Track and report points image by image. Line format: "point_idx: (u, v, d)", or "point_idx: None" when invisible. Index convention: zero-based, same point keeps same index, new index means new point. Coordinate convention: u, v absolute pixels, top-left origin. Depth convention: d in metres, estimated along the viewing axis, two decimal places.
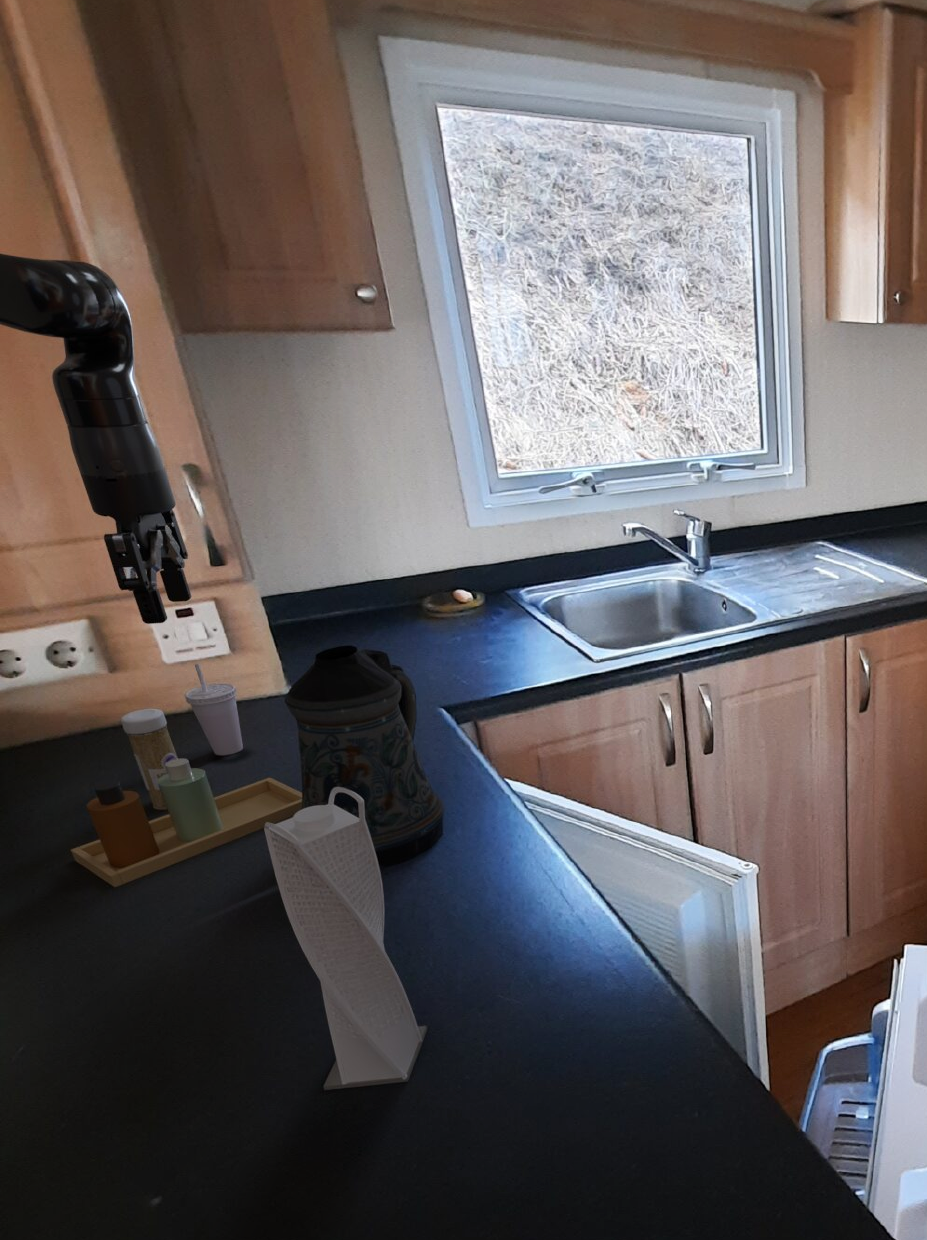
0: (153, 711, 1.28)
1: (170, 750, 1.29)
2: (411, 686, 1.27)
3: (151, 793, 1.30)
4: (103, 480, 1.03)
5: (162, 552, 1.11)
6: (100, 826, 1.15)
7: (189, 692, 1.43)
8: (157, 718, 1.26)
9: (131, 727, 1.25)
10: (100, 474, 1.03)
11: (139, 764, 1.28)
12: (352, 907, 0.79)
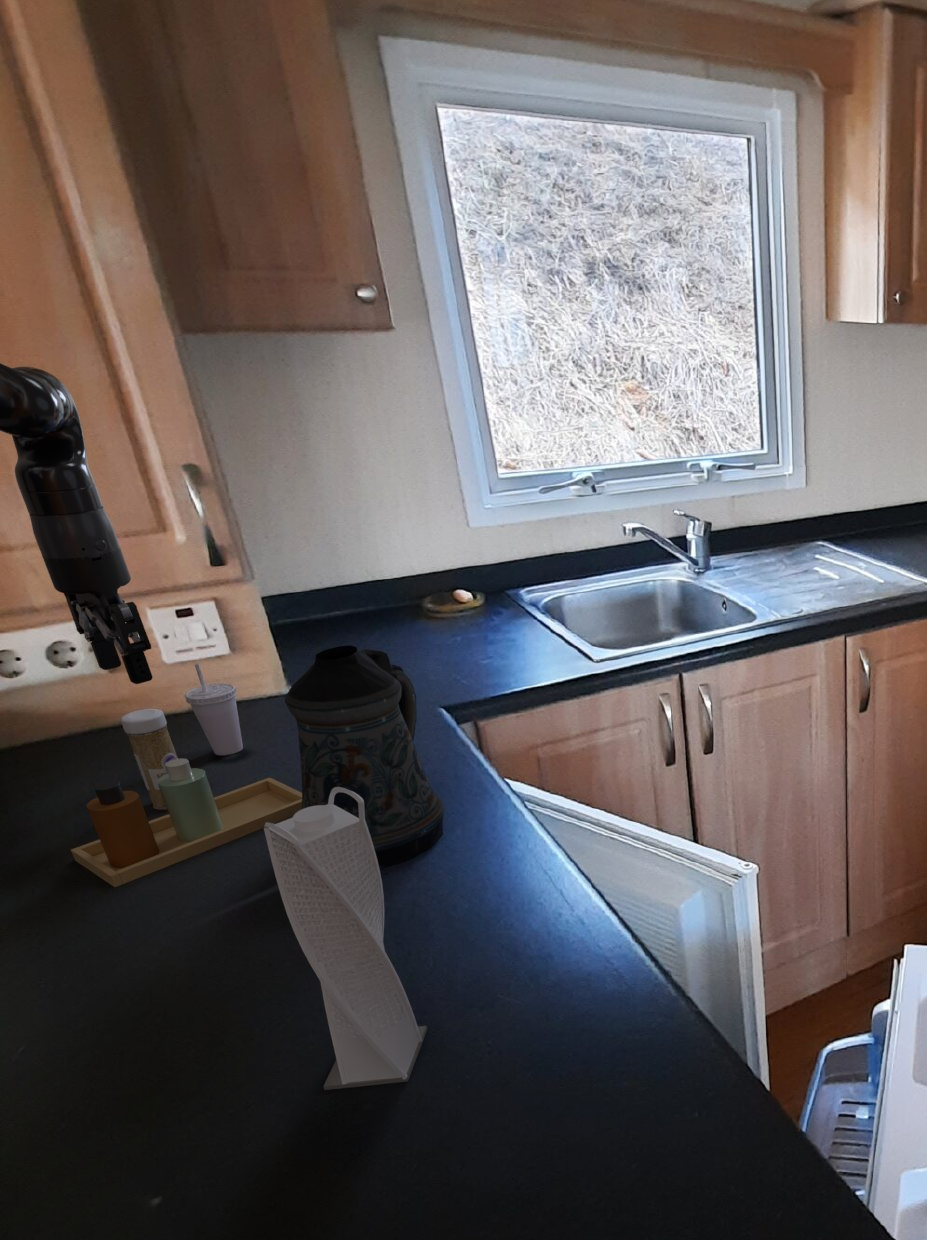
0: (153, 711, 1.28)
1: (170, 750, 1.29)
2: (411, 686, 1.27)
3: (151, 793, 1.30)
4: (89, 560, 1.15)
5: None
6: (100, 826, 1.15)
7: (189, 692, 1.43)
8: (157, 718, 1.26)
9: (131, 727, 1.25)
10: (86, 555, 1.15)
11: (139, 764, 1.28)
12: (352, 907, 0.79)
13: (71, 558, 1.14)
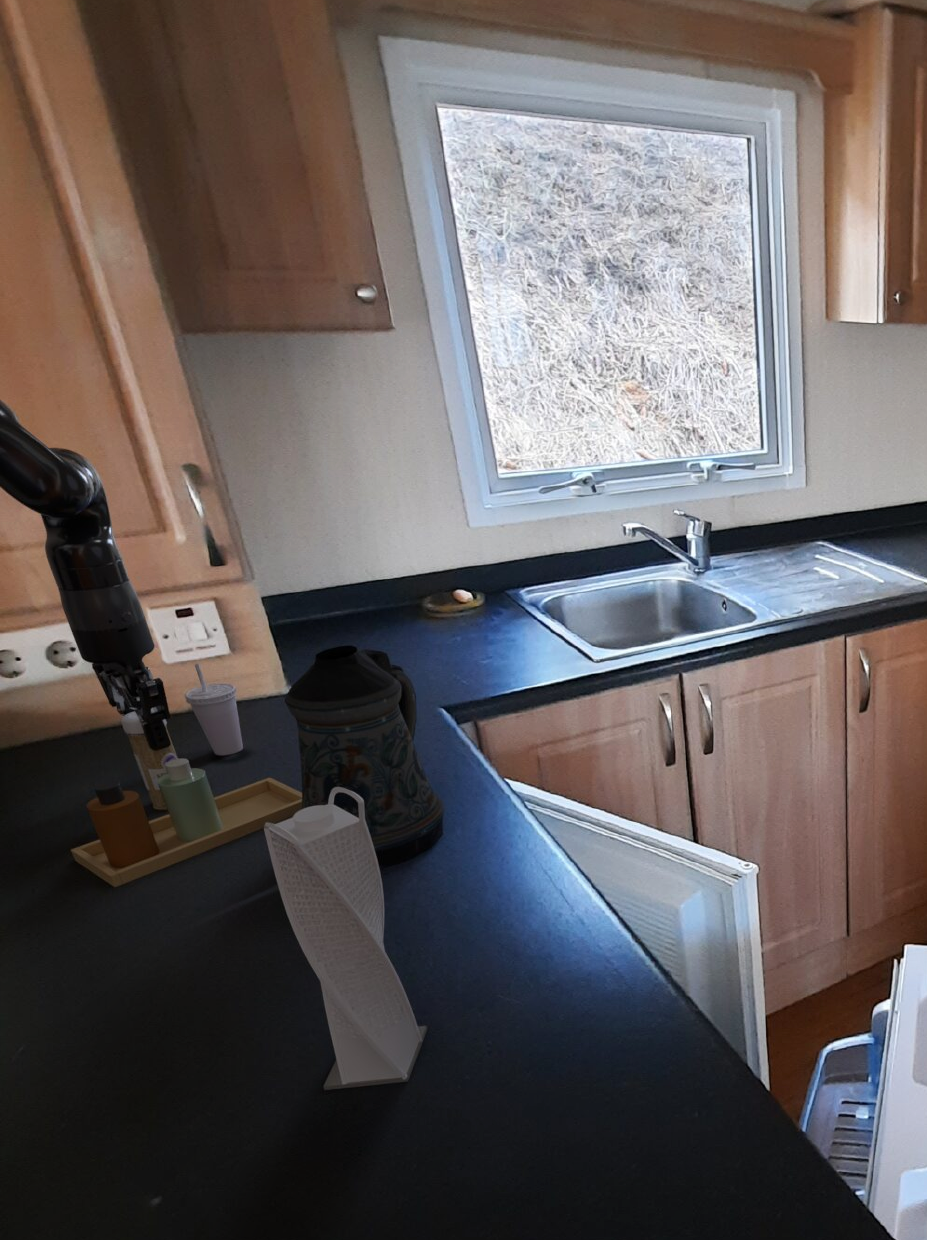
0: (153, 711, 1.28)
1: (170, 750, 1.29)
2: (411, 686, 1.27)
3: (151, 793, 1.30)
4: (116, 631, 1.19)
5: None
6: (100, 826, 1.15)
7: (189, 692, 1.43)
8: None
9: (131, 727, 1.25)
10: (113, 626, 1.19)
11: (139, 764, 1.28)
12: (352, 907, 0.79)
13: (98, 630, 1.18)
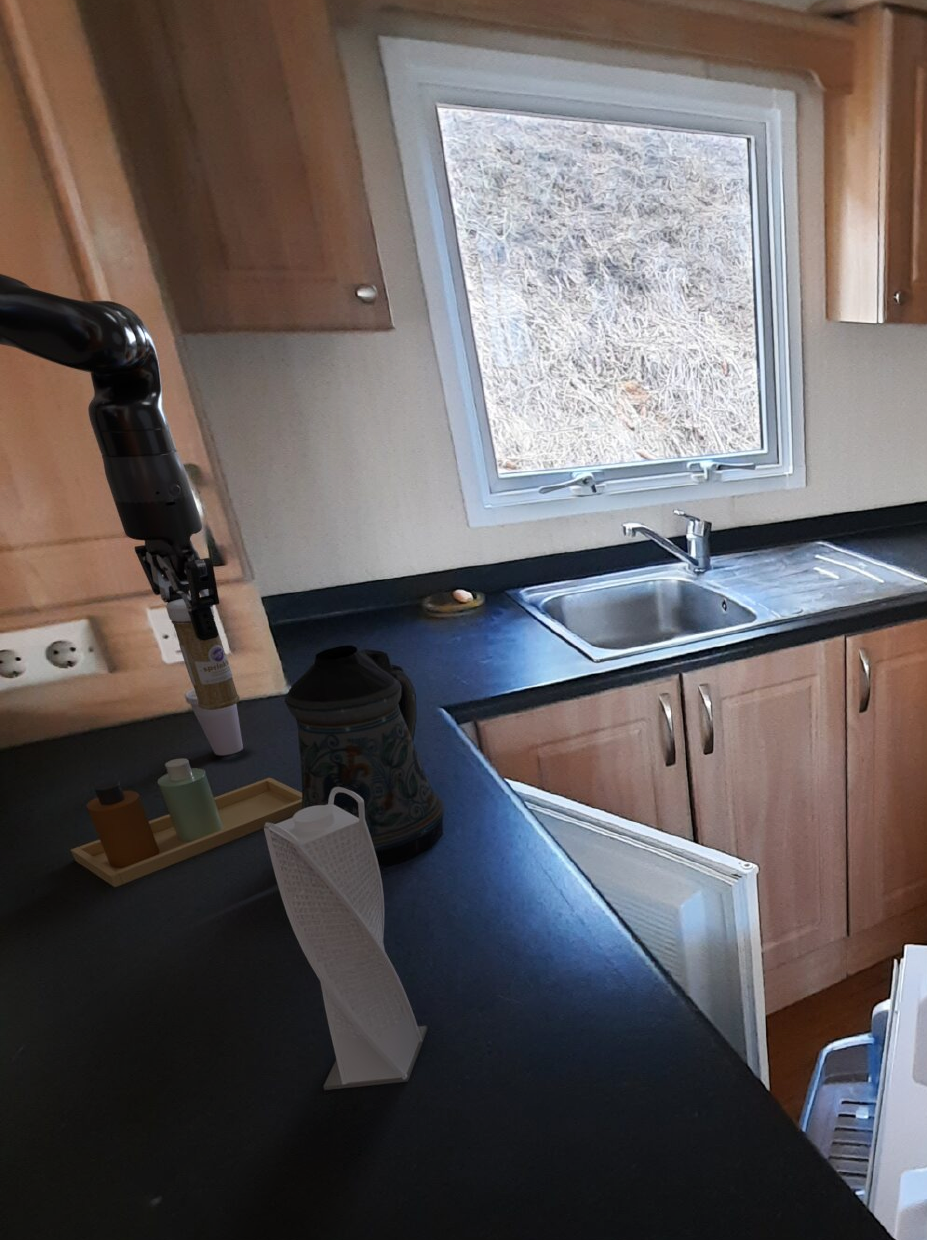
0: None
1: (217, 642, 1.21)
2: (411, 686, 1.27)
3: (197, 689, 1.21)
4: (163, 504, 1.10)
5: None
6: (100, 826, 1.15)
7: (189, 692, 1.43)
8: None
9: (177, 613, 1.17)
10: (160, 499, 1.10)
11: (185, 656, 1.19)
12: (352, 907, 0.79)
13: (145, 502, 1.09)
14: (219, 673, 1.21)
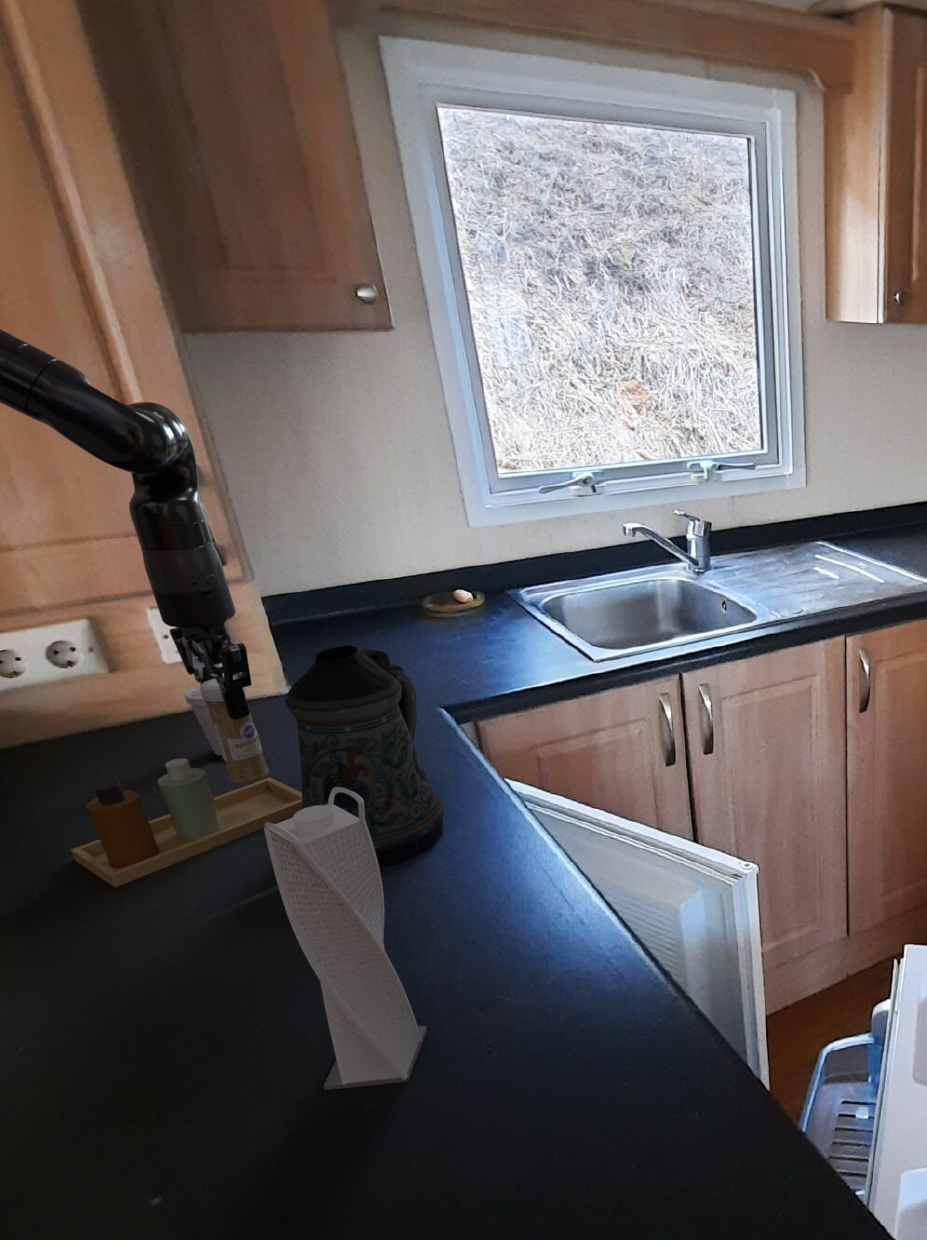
0: None
1: (248, 719, 1.25)
2: (411, 686, 1.27)
3: (229, 764, 1.26)
4: (199, 594, 1.15)
5: None
6: (100, 826, 1.15)
7: (189, 692, 1.43)
8: None
9: (211, 694, 1.21)
10: (197, 589, 1.15)
11: (217, 733, 1.24)
12: (352, 907, 0.79)
13: (182, 592, 1.14)
14: (250, 749, 1.26)
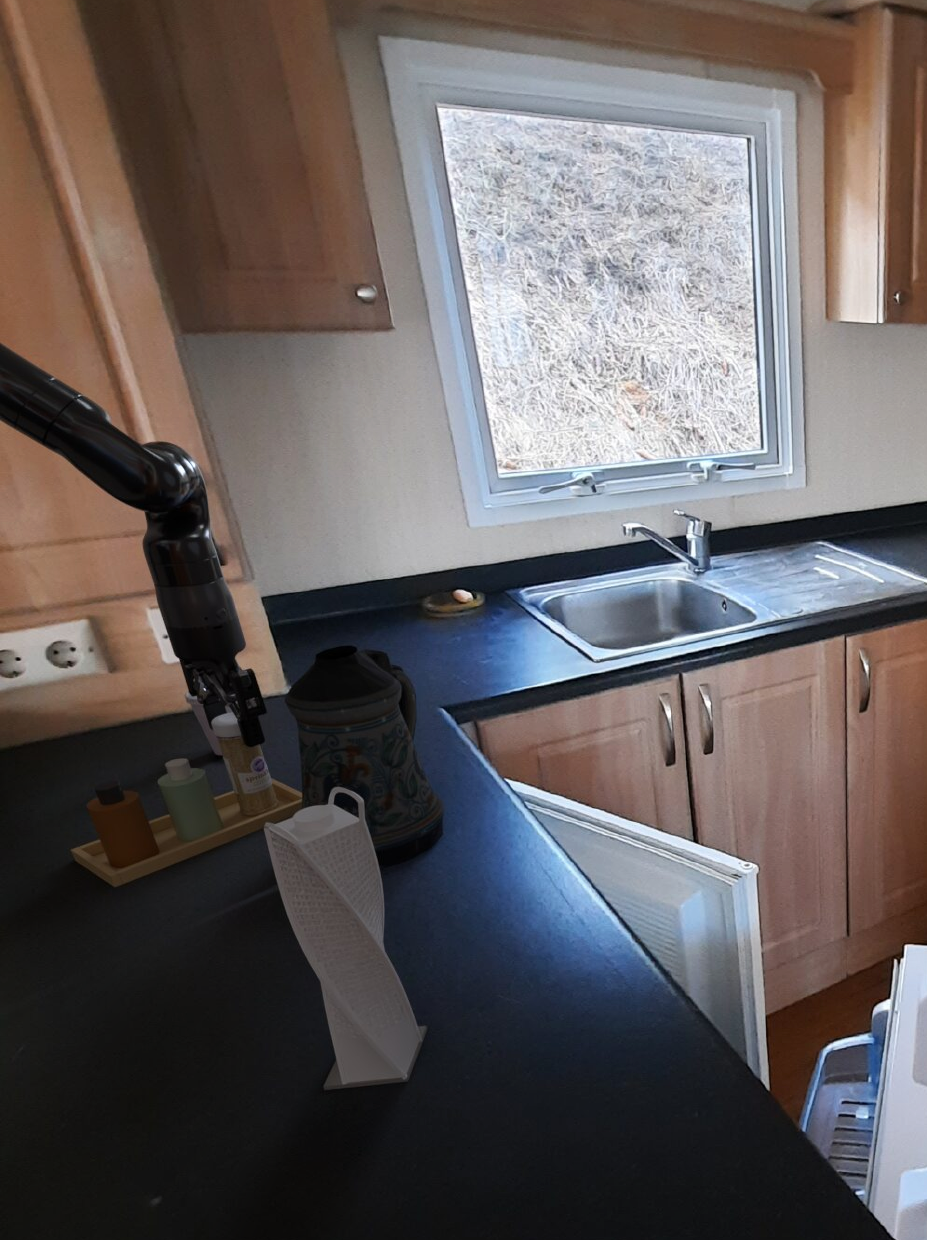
0: None
1: (259, 753, 1.27)
2: (411, 686, 1.27)
3: (239, 798, 1.28)
4: (211, 628, 1.17)
5: None
6: (100, 826, 1.15)
7: None
8: None
9: (222, 730, 1.23)
10: (208, 624, 1.16)
11: (228, 768, 1.26)
12: (352, 907, 0.79)
13: (194, 627, 1.16)
14: (260, 782, 1.28)
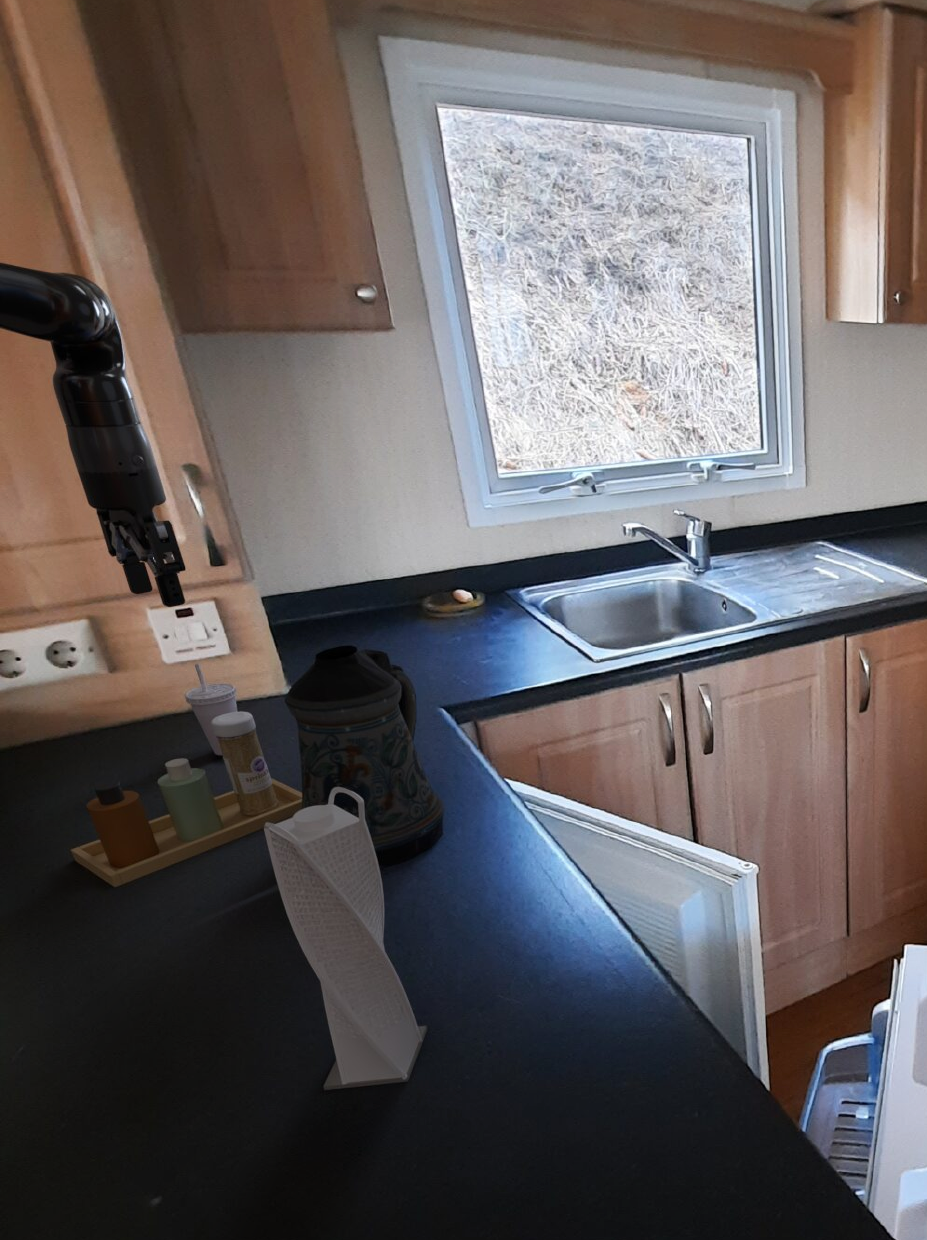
0: (242, 714, 1.26)
1: (259, 753, 1.27)
2: (411, 686, 1.27)
3: (239, 797, 1.28)
4: (125, 475, 1.12)
5: None
6: (100, 826, 1.15)
7: (189, 692, 1.43)
8: (247, 721, 1.25)
9: (222, 730, 1.23)
10: (123, 469, 1.12)
11: (228, 768, 1.26)
12: (352, 907, 0.79)
13: (107, 472, 1.11)
14: (260, 782, 1.28)
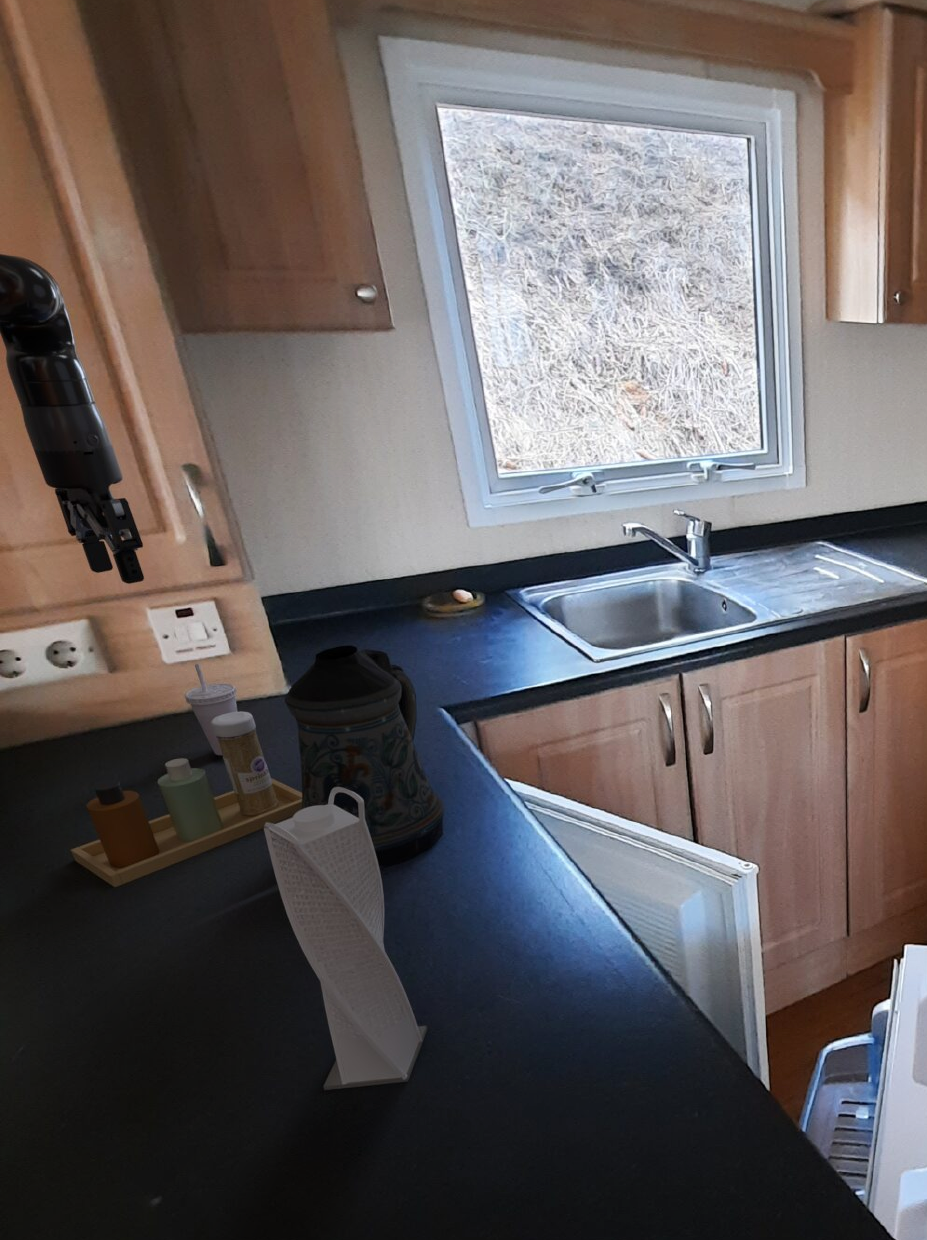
0: (242, 714, 1.26)
1: (259, 753, 1.27)
2: (411, 686, 1.27)
3: (239, 797, 1.28)
4: (81, 453, 1.15)
5: None
6: (100, 826, 1.15)
7: (189, 692, 1.43)
8: (247, 721, 1.25)
9: (222, 730, 1.23)
10: (78, 448, 1.14)
11: (228, 768, 1.26)
12: (352, 907, 0.79)
13: (63, 451, 1.14)
14: (260, 782, 1.28)
